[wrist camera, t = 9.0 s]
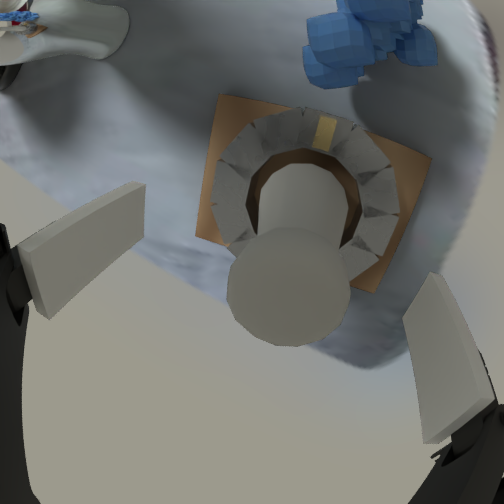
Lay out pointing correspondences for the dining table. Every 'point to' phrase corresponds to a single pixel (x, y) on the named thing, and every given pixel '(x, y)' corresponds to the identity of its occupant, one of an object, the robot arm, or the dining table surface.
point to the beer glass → (59, 29)
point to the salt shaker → (293, 260)
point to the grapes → (365, 40)
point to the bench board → (401, 157)
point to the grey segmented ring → (321, 140)
